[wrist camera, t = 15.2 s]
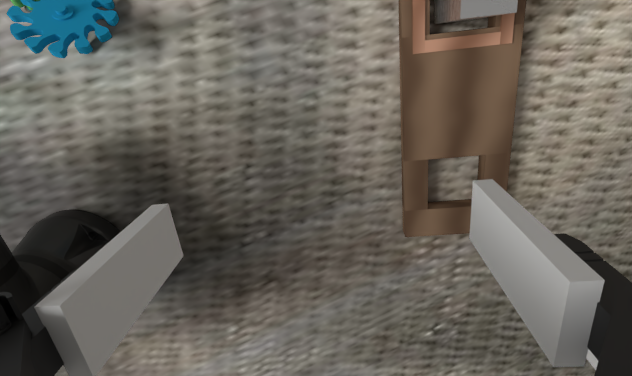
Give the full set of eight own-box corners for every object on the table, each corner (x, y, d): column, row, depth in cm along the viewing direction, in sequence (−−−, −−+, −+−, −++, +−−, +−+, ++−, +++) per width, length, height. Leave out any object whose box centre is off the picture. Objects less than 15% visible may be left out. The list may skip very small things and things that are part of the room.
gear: (134, -2, 37) (69, 63, 33) (150, 40, 43) (96, 100, 39) (42, -46, 38) (-33, 13, 34) (70, 1, 43) (8, 57, 39)
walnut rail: (402, 229, 47) (405, 237, 45) (397, -75, 35) (400, -82, 33) (496, 223, 46) (503, 231, 44) (525, -94, 34) (537, -103, 32)
